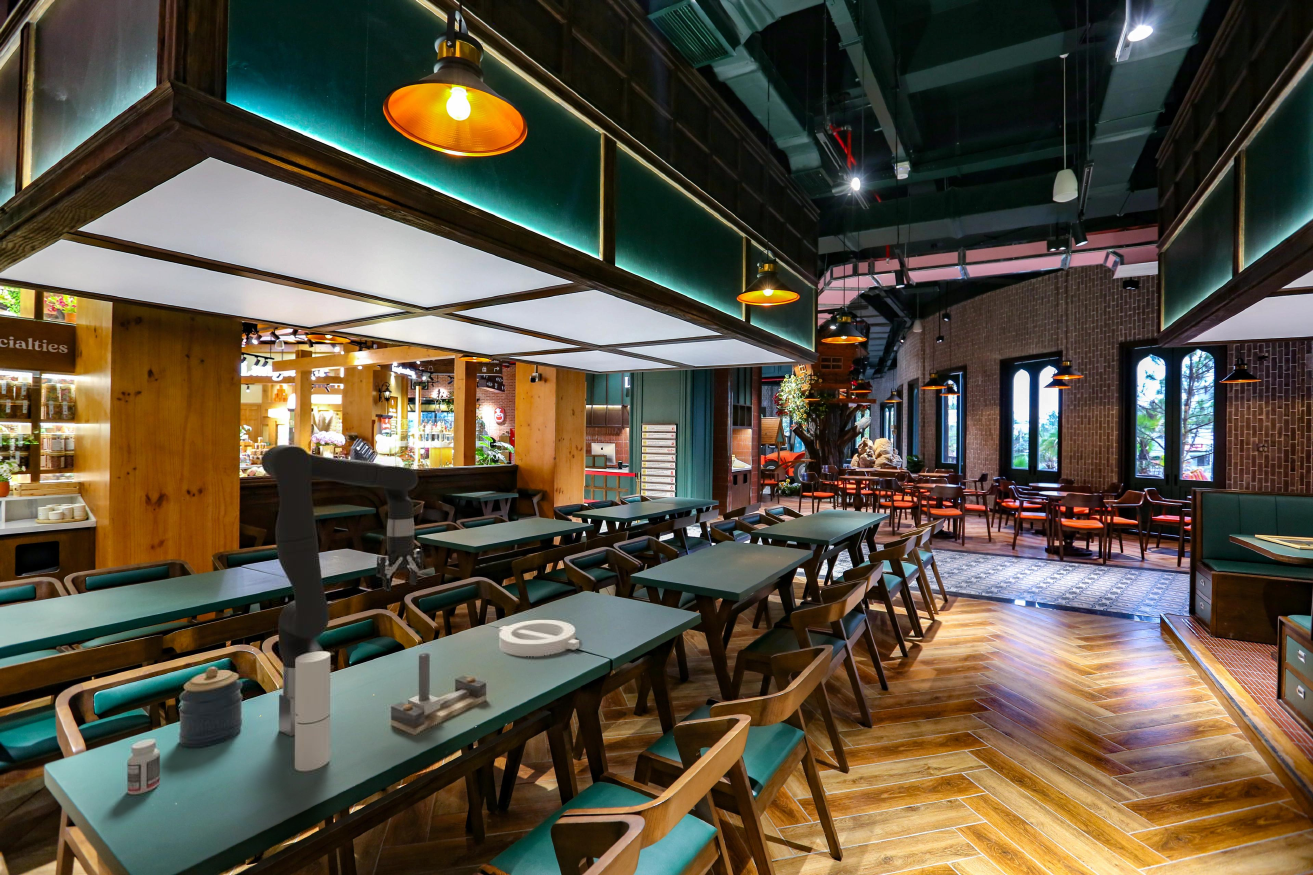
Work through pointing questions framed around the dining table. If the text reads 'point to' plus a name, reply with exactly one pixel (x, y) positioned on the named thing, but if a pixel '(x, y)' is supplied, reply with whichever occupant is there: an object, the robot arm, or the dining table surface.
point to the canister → (210, 708)
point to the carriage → (425, 688)
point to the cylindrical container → (312, 710)
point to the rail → (442, 713)
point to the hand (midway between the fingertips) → (400, 587)
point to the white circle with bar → (537, 638)
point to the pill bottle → (143, 767)
